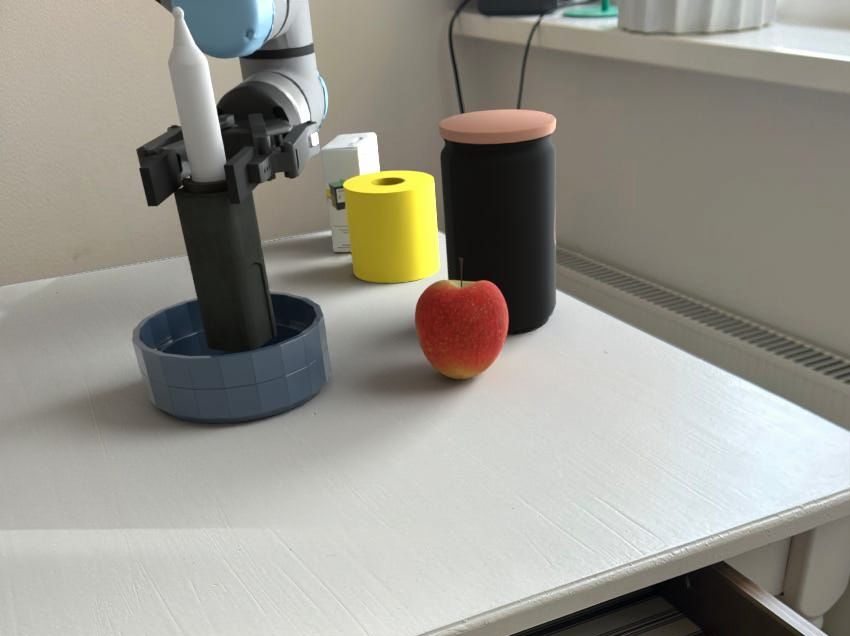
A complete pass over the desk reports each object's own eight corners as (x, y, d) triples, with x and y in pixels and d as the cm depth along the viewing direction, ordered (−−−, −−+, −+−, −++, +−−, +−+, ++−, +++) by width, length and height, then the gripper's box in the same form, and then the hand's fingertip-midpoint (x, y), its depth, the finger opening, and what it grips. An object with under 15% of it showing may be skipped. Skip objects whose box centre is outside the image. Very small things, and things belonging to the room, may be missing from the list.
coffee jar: (577, 319, 98) (580, 119, 87) (490, 346, 93) (481, 137, 82) (515, 293, 105) (510, 104, 94) (430, 316, 100) (415, 121, 89)
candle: (252, 354, 84) (185, 10, 69) (202, 348, 86) (126, 11, 70) (282, 333, 88) (225, 2, 72) (233, 328, 89) (168, 3, 74)
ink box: (349, 233, 126) (337, 131, 119) (387, 232, 125) (377, 131, 118) (332, 253, 119) (318, 147, 112) (371, 253, 119) (359, 146, 112)
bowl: (124, 429, 82) (104, 360, 79) (181, 355, 95) (166, 293, 91) (313, 425, 81) (301, 356, 77) (345, 351, 94) (336, 288, 90)
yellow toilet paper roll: (445, 255, 117) (440, 169, 111) (432, 282, 109) (426, 192, 103) (363, 256, 118) (354, 171, 112) (345, 283, 110) (333, 193, 104)
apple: (406, 388, 86) (395, 273, 80) (437, 353, 92) (429, 244, 86) (493, 396, 84) (488, 278, 78) (519, 360, 90) (517, 248, 84)
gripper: (364, 164, 94) (319, 234, 76) (174, 171, 95) (84, 241, 77) (355, 75, 89) (304, 126, 71) (155, 83, 91) (54, 135, 72)
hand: (190, 185), depth 74 cm, fingers closed on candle, 6 cm apart
